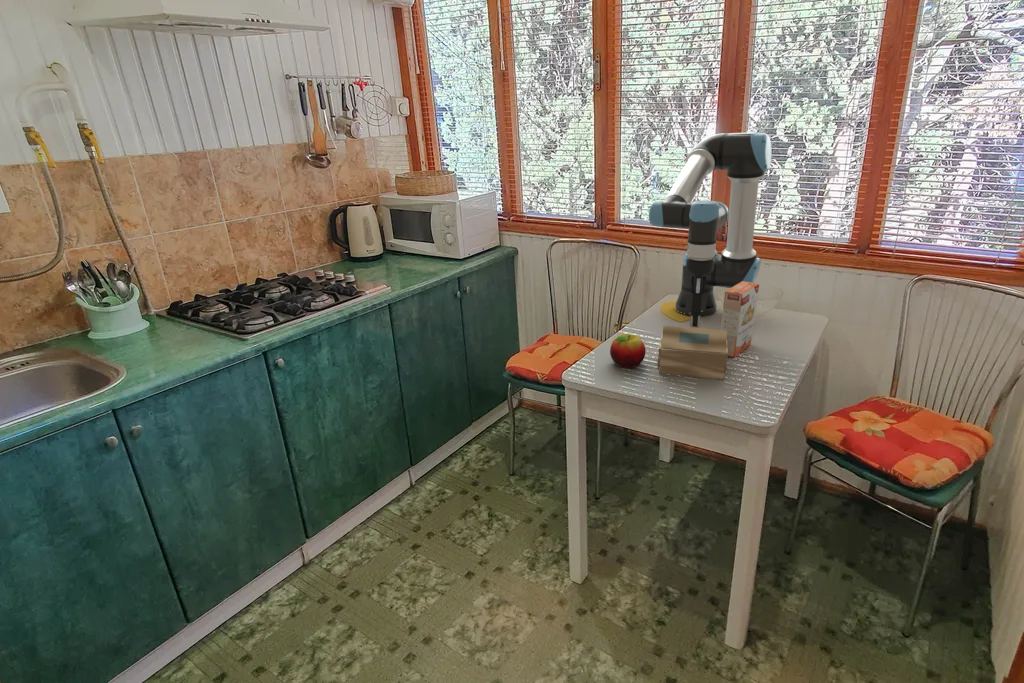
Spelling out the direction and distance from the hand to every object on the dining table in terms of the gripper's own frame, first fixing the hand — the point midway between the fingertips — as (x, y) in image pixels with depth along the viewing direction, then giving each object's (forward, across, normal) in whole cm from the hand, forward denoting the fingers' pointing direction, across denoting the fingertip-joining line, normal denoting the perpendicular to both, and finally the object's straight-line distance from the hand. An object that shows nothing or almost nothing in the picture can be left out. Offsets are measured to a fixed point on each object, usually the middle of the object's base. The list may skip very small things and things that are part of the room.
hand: (693, 335), depth 169 cm
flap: (-1, +6, 0) cm, 6 cm away
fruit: (+10, +3, -19) cm, 22 cm away
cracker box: (+10, -16, +13) cm, 23 cm away
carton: (+10, +1, 0) cm, 10 cm away
